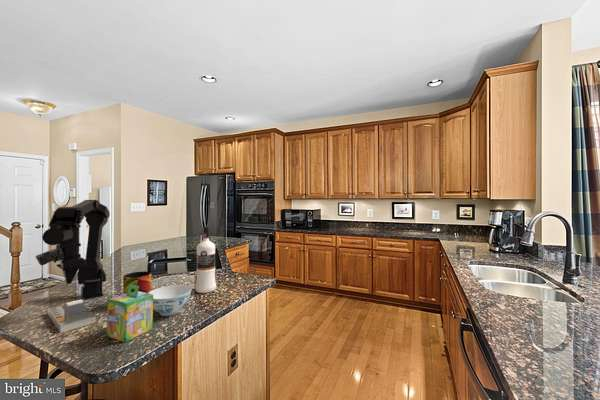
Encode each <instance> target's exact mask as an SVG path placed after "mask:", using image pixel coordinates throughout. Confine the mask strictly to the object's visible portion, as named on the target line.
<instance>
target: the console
mask: <svg viewBox="0 0 600 400" xmlns="http://www.w3.org/2000/svg"><path fill="white" fill-rule="evenodd" d="M65 305H66V304H63V305H59V306H54V307H50V308H47V315H48V316H49V318H50V319H51V321H52V323H53V324H54V326H55V327H56V329H58V331H59V333H64V332H67V331H70V330H74V329H77V328H81V327H84V326H87V325H91V324H94V323H96V322H97V316H96V315H95V314H94V313H93V312H92V311H90V309H88V308H87V307H86V306H85V311H81V312H78V313H74V314H70V315H68V319H66V318H65V317H64V307H65Z"/></svg>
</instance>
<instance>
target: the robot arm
mask: <svg viewBox="0 0 600 400" xmlns="http://www.w3.org/2000/svg"><path fill="white" fill-rule="evenodd" d="M110 215H111V214H110V210H109V209H108V206H106V205H104V204H102V203H101V202H100V201H99V200H97V199H85V200H83V201H81V202H79V203H76V204H74V205H71V206H59V207H57V208H56V209H55V211H54V212H53V214H52V217H51V218H50V222H49V224H48V227H49V228H48V229H47V230H45V231H44V232H43V234H42V235H41V236H42V237H41V238H42V241H43V242H44V243H45V244H46V245H49V246H55V248H53V249H51V250H47V251H45V252H42V253H40V254H39V253H38V254H37V255H35V259H36V260H37V262H38V264H39V265H40V266H45V265H47V264H48V263H51V262H52V263H55V266H56V267H57V268H60V270H62V273H63V277H64V280H65V282H66V284H67V285H69V284H70V285H71V283H72V282H73V280H74V278H75V277H77V278H76V279H77V282H78V283H77V284H78V285H82V286H81V287H80V297H81V298H82V299H84V300H90V299H94V298H98V297H102V296H104V293H103V282H106V281H107V273H106V271H105V270H104V268H103V267H104V265H103V263H102V261H101V260H100V253H101V246H102V245H101V244H102V237H103V235H102V234H103V227H104V226H105V225H106V224H107V223H108V220H109V218H110ZM84 219H85V222H86V224H87V225H88V227H89V228H88V235H87V236H88V237H87V245H86V254H85V258H83V257H82V255H81V254H80V247H81V246H82V244H81V242H80V229H81V227H82V225H81V223H82V221H83V220H84ZM57 262H58V263H59V264H56V263H57Z"/></svg>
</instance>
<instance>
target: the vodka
mask: <svg viewBox="0 0 600 400" xmlns="http://www.w3.org/2000/svg"><path fill="white" fill-rule="evenodd" d="M202 229H203V230H202V232H203V233H202V235H203V236H202V238H203V239H202V241H200V242H199V243H198V244H197V245H196V281H195V283H196V284H195V288H194V289H195V292H197V293H199V294H207V293H212V292H214V291H215V290H216V289H217V282H216V244H215V243H214V242H212V241H211V240H210V227H209V226H203V228H202Z"/></svg>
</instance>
